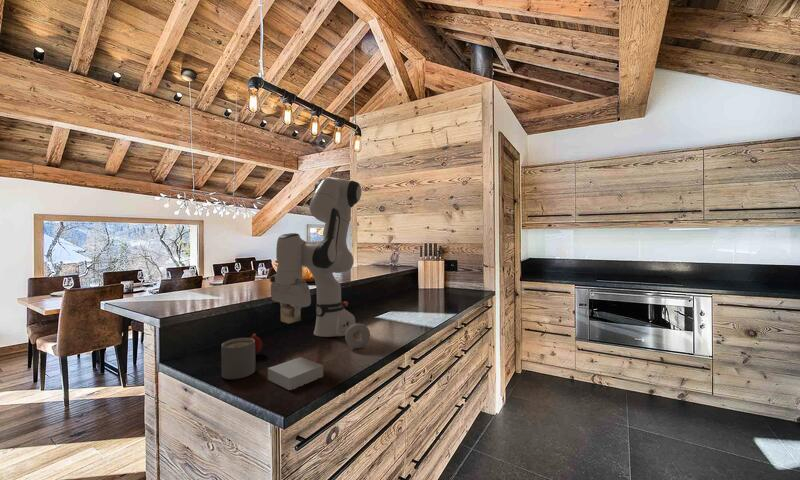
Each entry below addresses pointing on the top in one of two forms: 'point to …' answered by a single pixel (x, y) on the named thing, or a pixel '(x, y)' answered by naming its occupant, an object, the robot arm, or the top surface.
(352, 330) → the donut
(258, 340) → the onion
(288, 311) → the maple cube
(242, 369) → the coffee mug
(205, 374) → the top surface
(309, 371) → the painted block
